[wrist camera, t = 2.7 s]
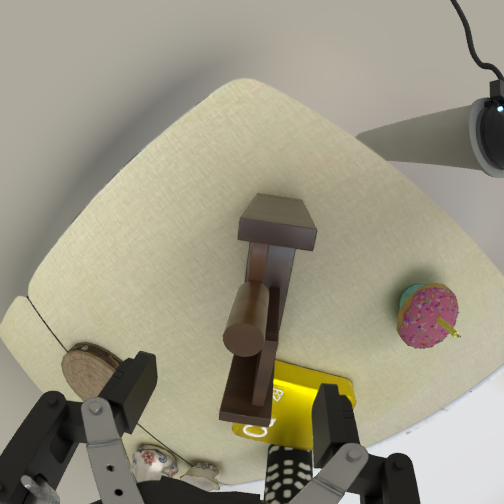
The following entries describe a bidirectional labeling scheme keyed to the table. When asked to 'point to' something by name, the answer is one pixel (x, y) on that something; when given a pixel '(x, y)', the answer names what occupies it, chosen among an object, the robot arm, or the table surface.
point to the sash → (249, 308)
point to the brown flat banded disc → (88, 369)
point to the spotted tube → (286, 473)
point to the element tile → (293, 406)
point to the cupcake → (427, 315)
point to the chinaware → (171, 468)
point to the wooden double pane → (277, 281)
